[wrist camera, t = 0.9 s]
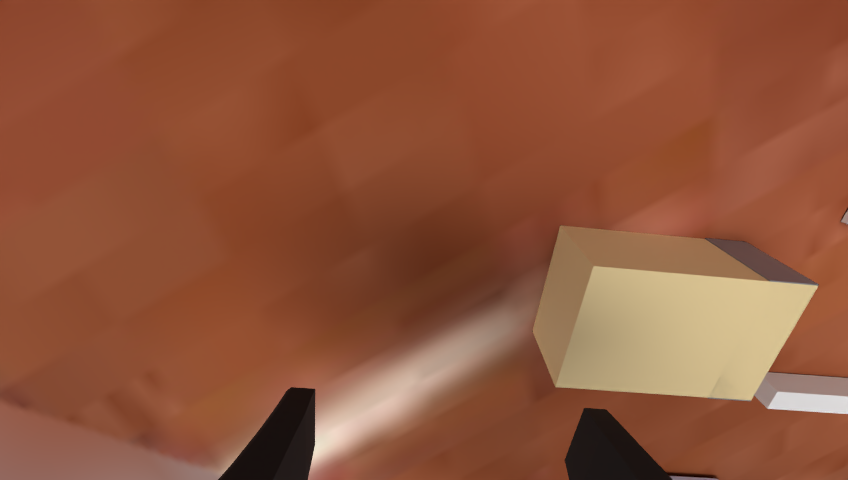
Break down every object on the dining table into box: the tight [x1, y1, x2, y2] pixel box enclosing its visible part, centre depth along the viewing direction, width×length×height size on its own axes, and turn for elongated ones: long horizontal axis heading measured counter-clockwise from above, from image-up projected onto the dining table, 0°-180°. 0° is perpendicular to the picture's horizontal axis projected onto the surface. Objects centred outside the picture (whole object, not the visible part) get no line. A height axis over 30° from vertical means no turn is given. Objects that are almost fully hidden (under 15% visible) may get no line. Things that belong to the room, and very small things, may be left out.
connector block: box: [532, 225, 819, 401], centre depth 19 cm, size 6×9×4 cm
